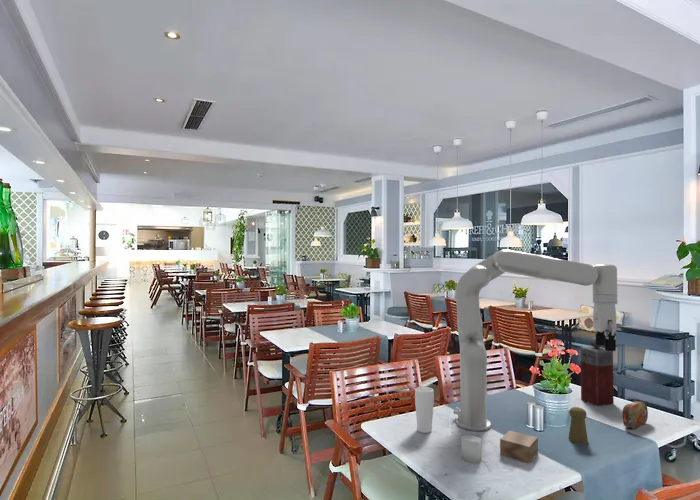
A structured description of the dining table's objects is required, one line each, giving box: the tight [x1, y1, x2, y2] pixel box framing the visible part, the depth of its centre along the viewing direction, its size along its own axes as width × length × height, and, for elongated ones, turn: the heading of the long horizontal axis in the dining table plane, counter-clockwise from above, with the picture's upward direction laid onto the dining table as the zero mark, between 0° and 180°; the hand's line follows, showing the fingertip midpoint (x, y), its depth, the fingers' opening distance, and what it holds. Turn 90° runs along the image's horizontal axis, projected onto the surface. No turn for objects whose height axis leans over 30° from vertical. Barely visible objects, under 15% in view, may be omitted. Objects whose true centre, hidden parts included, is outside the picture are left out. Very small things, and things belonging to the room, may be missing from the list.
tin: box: [621, 400, 649, 430], centre depth 162 cm, size 15×3×8 cm, turn 123°
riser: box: [499, 430, 539, 464], centre depth 138 cm, size 9×9×5 cm
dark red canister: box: [580, 336, 615, 407], centre depth 190 cm, size 9×11×28 cm
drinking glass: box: [414, 386, 435, 434], centre depth 157 cm, size 7×7×15 cm
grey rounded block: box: [460, 435, 482, 464], centre depth 135 cm, size 6×6×6 cm
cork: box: [568, 406, 589, 445], centre depth 149 cm, size 6×6×11 cm
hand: (605, 347), depth 152 cm, fingers open, 9 cm apart
